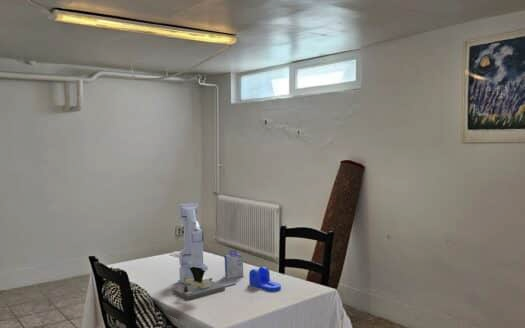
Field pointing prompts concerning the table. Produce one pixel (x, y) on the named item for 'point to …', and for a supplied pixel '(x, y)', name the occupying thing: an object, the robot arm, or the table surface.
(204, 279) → the plug
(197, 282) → the brass flat bar
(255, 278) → the bracket
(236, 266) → the ink cartridge box
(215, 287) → the grey panel
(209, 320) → the table surface
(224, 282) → the mat
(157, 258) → the table surface
